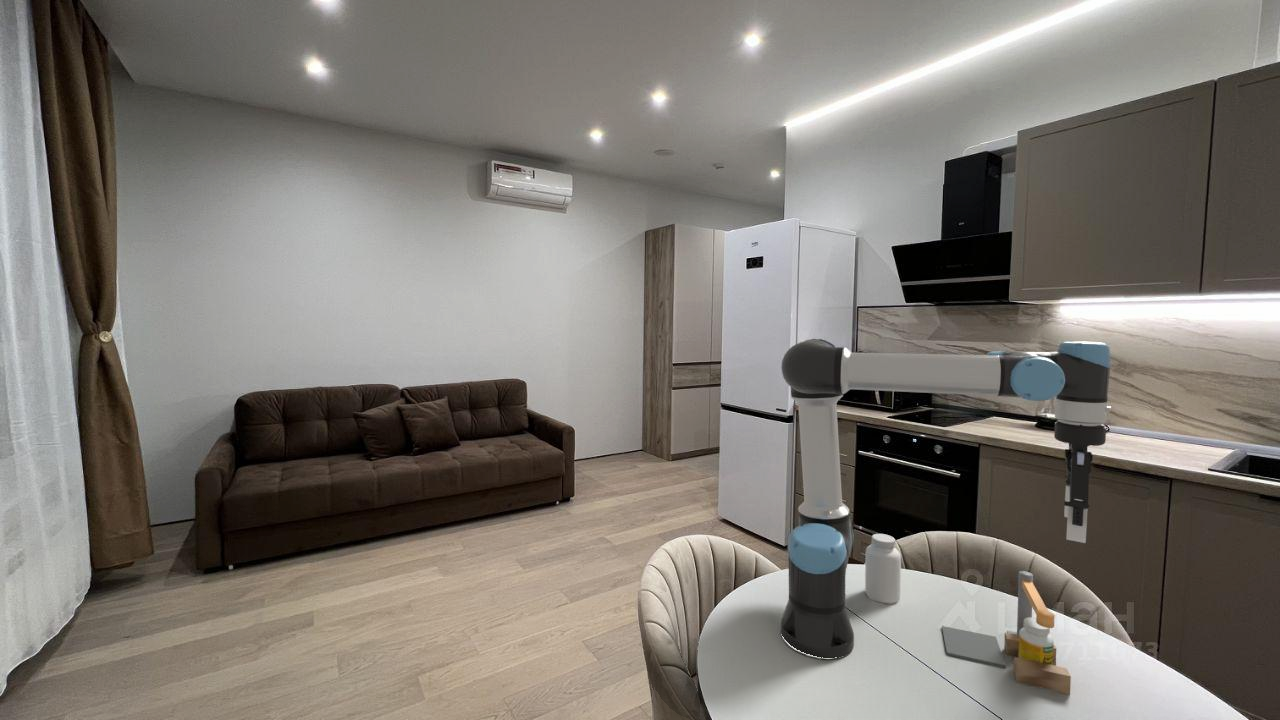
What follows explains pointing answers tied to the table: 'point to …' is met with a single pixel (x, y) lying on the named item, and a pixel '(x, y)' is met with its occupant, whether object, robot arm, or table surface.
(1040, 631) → the supplement bottle
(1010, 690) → the table surface
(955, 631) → the mat
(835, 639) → the robot arm
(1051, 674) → the wooden block set
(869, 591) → the pill bottle
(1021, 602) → the grey orange l-shaped piece
